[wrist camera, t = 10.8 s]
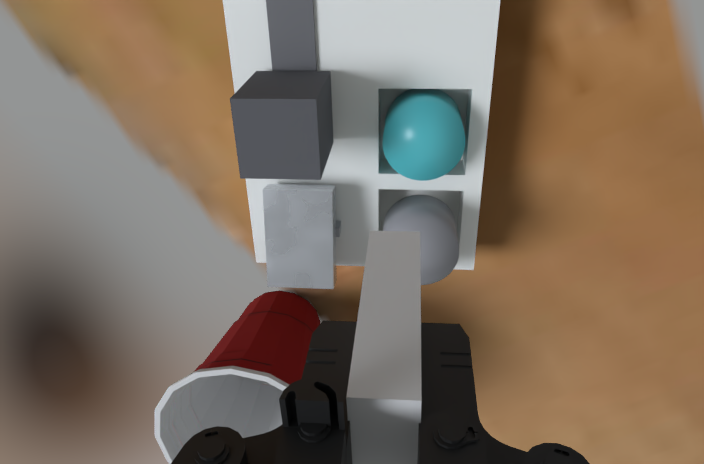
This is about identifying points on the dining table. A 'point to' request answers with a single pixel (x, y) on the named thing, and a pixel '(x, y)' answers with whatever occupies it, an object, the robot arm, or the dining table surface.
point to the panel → (375, 98)
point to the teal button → (423, 134)
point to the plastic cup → (241, 374)
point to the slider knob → (283, 124)
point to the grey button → (427, 233)
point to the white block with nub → (300, 235)
